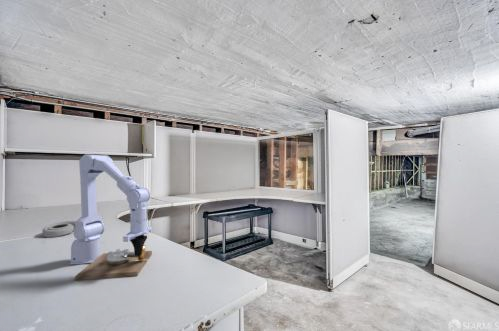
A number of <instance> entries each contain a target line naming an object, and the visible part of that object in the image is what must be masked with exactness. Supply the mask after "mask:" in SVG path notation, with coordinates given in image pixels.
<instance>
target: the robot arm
mask: <svg viewBox="0 0 499 331" xmlns="http://www.w3.org/2000/svg"><path fill="white" fill-rule="evenodd" d="M78 163H79V177H80V178H79V180H80V203H81V204H80V206H81V216H80V217H79V218H78V219H77V220H75V221H76V222H75V228H74V231H73V237H74V239H75V240H73V241H72V243H71V246H70V263H69V265H83V264H91V263H92V262H93V261H94V260H96V259H97V258H98V257H99V256H101V255H102V254H101V251H100V250H101V246H100V244H101V241H100V240H101V239H100V238H102V235H103V233H104V232H105V229H106V228H105V224H104V222H103V217H102V216H100V215H98V202H97V177H98V176H99V175H100V174H103V173H106V174H107V175H108V176H110V177H111V178H112V179H113V180H114V181H116V187H117V188H118V189H119V190H120V191H121V192H122V193H124V195H125V196H126V200H127V203H128V206H129V210H130V211H129V212H130V215H129V216H130V218H129V219H130V222H129V224H130V227H129V230H130V231H129V232H128V233H126V234H125V235H122V242H124V243H128V242H130V243H131V244H132V247H133V252H134V253H135V256H140V255H142V250H143V245H144V244H145V243H146V242H147V238H148V236H147V235H149V234H150V233H151V232H152V231H153V227H152V226H148V225H147V219H148V218H147V217H148V215H147V214H148V212H147V209H148V208H147V205H148V202H149V200H150V198H151V192H150V191H149V190H148V188H147V187H142V186H141V185H140V184H138V183H137V182H136V181H135V180H134V179H133V178H134V177H132V176H129V175H124V174H123V173H122V172H121V170H120V169H119V168H118V167H117V166H116V165H115V164H114V160H113V159H112V158H111V157H110V156H109V155H107V154H106V155H105V154H104V155H103V154H102V155H100V154H89V153H87V154H86V153H85V154H84V155H82V157H80V159H79V160H78Z"/></svg>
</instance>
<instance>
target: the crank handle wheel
mask: <svg viewBox="0 0 499 331" xmlns="http://www.w3.org/2000/svg"><path fill="white" fill-rule="evenodd" d="M115 250H116V251H109V252H107V253H108V255H107V264H108V265H120V264H124V263H126V262H128V261H129V260H130V257H138V260H144V259H145V251H146V245H143V250H142V255H140V256H135V253H130V252H131V251H129V248H125V249H123V250H120V248H117V249H115Z"/></svg>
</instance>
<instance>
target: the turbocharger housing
mask: <svg viewBox="0 0 499 331" xmlns="http://www.w3.org/2000/svg"><path fill="white" fill-rule="evenodd" d="M76 221H77V220H65V221H59V222H56V223H55V222H54V223H51V224H49V225H47V226H44V227H43V228H42V230H41V231H42V237H44V238H58V237H64V236H66V235H70V234H71V233H72V232H74V228H75V222H76ZM63 235H64V236H63Z"/></svg>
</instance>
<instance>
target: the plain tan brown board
mask: <svg viewBox="0 0 499 331" xmlns="http://www.w3.org/2000/svg"><path fill="white" fill-rule="evenodd" d="M129 252H130V253H134V251H129ZM152 254H153V251H152V250H145V259H144V260H138V257H130V260H129V261H128V262H126V263H124V264H120V265H108V264H107V255H108V252H107V253H102V254H100V255H101V256H99V257H98V258H97V259H96V260H94V261H93V262H92V263H88V265H87V266H86V267H84V268H83V269H82V270H81V271H80V272H77V274H76V275H75V276H74V281H87V280H99V279H100V280H102V279H117V278H124V277H125V278H127V277H128V278H129V277H138V276H139V274H140V273H141V272H142V269H143V268H144V267H145V265H146V263H147V262H148V261H149V260H150V258H151V256H152Z"/></svg>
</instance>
